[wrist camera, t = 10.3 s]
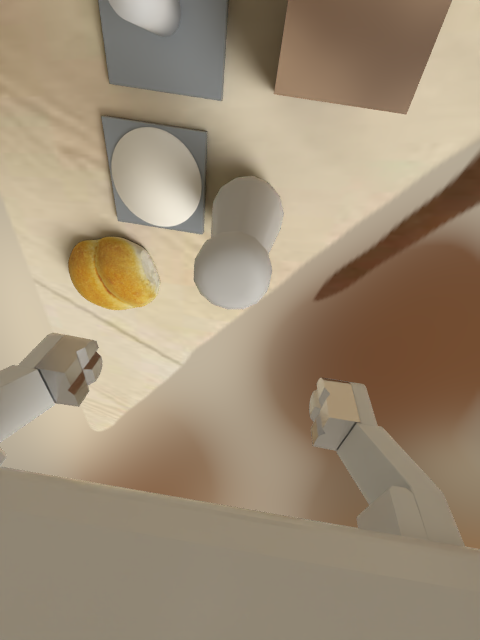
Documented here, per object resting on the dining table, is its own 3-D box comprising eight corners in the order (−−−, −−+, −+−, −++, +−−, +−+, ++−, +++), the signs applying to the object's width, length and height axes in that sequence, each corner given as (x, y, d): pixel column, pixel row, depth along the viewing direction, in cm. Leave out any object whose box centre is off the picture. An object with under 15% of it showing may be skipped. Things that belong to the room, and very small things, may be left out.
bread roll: (64, 241, 29) (38, 259, 26) (140, 227, 27) (122, 244, 24) (103, 305, 34) (86, 326, 31) (171, 297, 32) (159, 318, 29)
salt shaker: (209, 223, 26) (164, 305, 16) (228, 157, 23) (186, 210, 13) (267, 246, 27) (259, 338, 17) (295, 186, 23) (305, 258, 13)
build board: (105, 115, 22) (100, 116, 21) (207, 131, 22) (205, 132, 21) (120, 218, 27) (117, 221, 26) (203, 232, 27) (202, 235, 26)
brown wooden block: (299, -54, 16) (310, -149, 9) (413, -37, 16) (500, -121, 9) (276, 93, 20) (273, 93, 14) (366, 107, 20) (406, 114, 13)
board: (88, -107, 15) (13, -185, 11) (233, -86, 15) (214, -156, 11) (113, 83, 20) (68, 81, 16) (222, 100, 20) (206, 103, 16)
